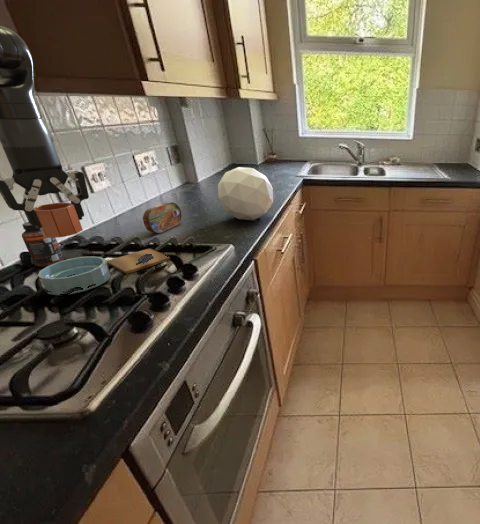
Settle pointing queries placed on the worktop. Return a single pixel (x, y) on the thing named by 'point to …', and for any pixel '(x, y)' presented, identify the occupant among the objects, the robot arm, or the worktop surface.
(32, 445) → the worktop surface
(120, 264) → the board
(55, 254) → the supplement bottle
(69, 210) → the small bowl
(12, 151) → the robot arm
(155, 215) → the tin
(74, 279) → the big bowl
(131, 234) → the worktop surface
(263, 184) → the ball
